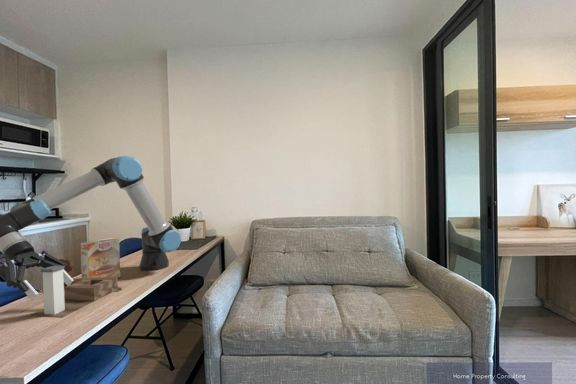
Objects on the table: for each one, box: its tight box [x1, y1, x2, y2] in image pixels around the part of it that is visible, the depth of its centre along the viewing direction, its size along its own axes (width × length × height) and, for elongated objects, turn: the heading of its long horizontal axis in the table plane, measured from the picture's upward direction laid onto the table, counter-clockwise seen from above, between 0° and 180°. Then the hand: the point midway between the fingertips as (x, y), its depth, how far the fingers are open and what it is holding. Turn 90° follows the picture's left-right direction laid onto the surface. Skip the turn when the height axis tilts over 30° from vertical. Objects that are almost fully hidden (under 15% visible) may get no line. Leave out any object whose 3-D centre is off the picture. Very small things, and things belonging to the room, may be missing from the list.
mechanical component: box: [58, 258, 73, 287], centre depth 134 cm, size 12×10×10 cm
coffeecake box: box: [80, 237, 121, 281], centre depth 143 cm, size 15×7×20 cm, turn 150°
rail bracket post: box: [40, 266, 65, 315], centre depth 104 cm, size 5×5×16 cm
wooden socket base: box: [26, 277, 123, 319], centre depth 114 cm, size 29×14×6 cm, turn 173°
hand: (54, 289), depth 103 cm, fingers open, 13 cm apart
